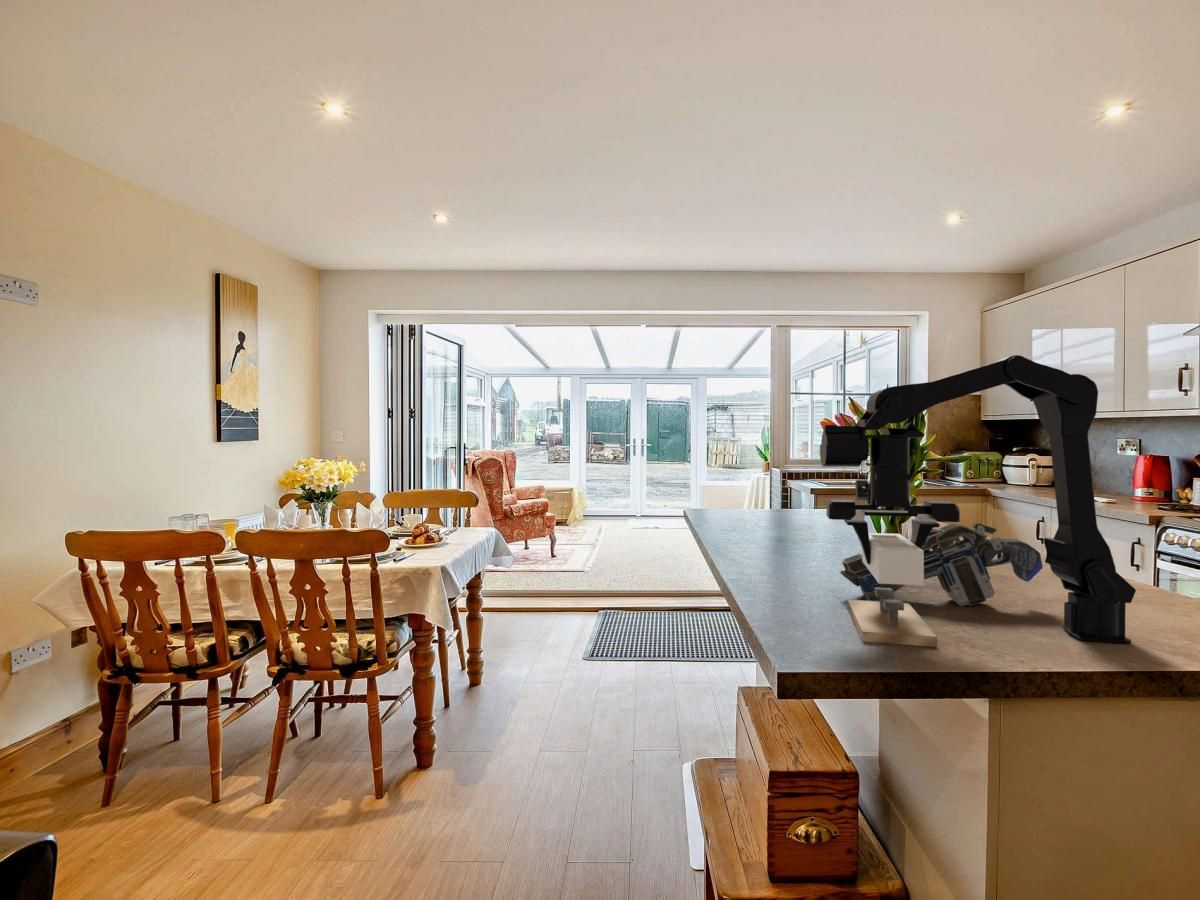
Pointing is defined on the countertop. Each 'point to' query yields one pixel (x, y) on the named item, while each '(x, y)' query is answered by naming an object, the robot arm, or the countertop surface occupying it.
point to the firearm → (958, 563)
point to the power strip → (895, 560)
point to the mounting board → (890, 621)
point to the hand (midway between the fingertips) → (890, 564)
